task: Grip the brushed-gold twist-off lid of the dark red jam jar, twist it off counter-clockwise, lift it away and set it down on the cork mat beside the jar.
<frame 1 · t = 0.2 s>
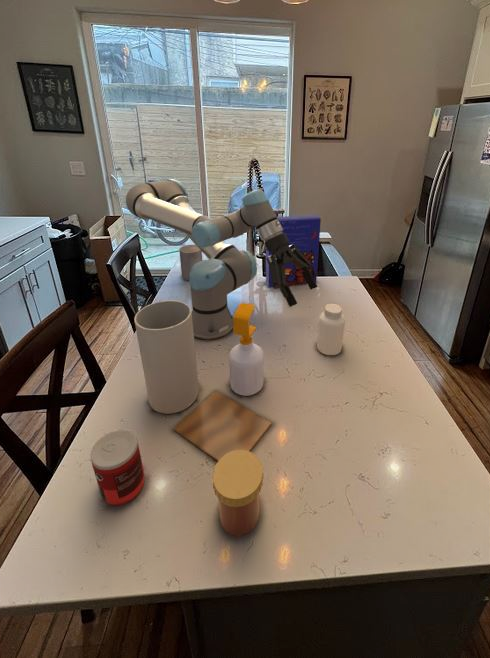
hand: (304, 296, 104), 16 cm above the kitchen island, tool tilted 35°, fingers open, 13 cm apart
cylinder vase: (174, 396, 86), on the kitchen island
canned food: (124, 486, 65), on the kitchen island
pill bottle: (329, 348, 105), on the kitchen island
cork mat: (223, 427, 77), on the kitchen island
cereal box: (291, 282, 147), on the kitchen island
jar lid: (238, 474, 56), point 11 cm above the kitchen island, screwed on, not yet turned
pillar candle: (192, 276, 151), on the kitchen island
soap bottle: (247, 384, 90), on the kitchen island
jam jar: (239, 513, 61), on the kitchen island
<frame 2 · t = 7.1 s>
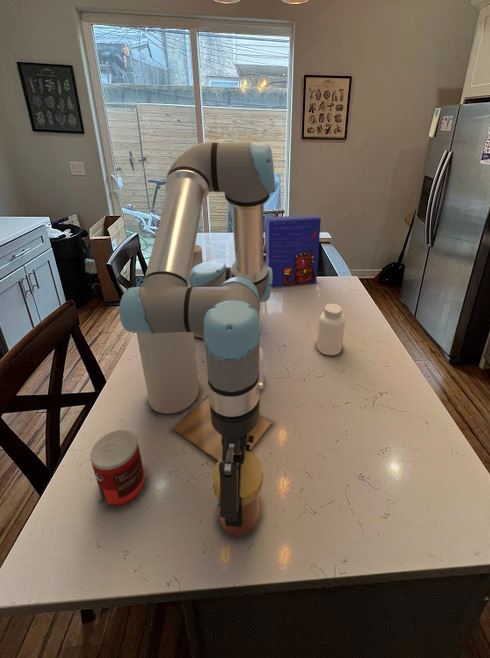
hand: (238, 494, 59), 5 cm above the kitchen island, tool pointing down, fingers closed on jar lid, 8 cm apart
jar lid: (238, 474, 56), point 11 cm above the kitchen island, screwed on, not yet turned, touching gripper
everything else where it was.
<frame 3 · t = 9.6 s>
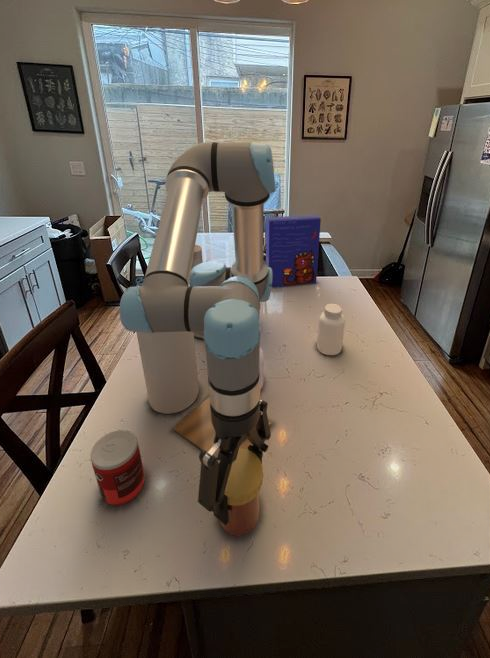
hand: (239, 494, 58), 6 cm above the kitchen island, tool pointing down, fingers closed on jar lid, 8 cm apart
jar lid: (237, 472, 56), point 11 cm above the kitchen island, off its thread, touching gripper
everything else where it was.
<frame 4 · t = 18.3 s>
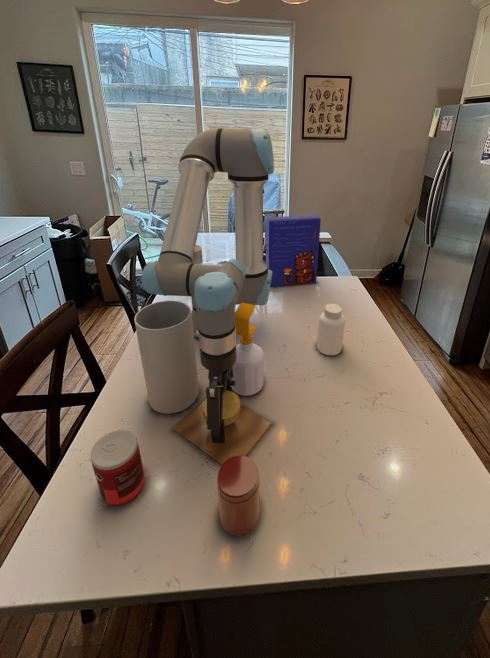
hand: (223, 423, 77), 1 cm above the kitchen island, tool pointing down, fingers closed on jar lid, 8 cm apart
jar lid: (221, 405, 75), point 7 cm above the kitchen island, off its thread, touching gripper
everything else where it was.
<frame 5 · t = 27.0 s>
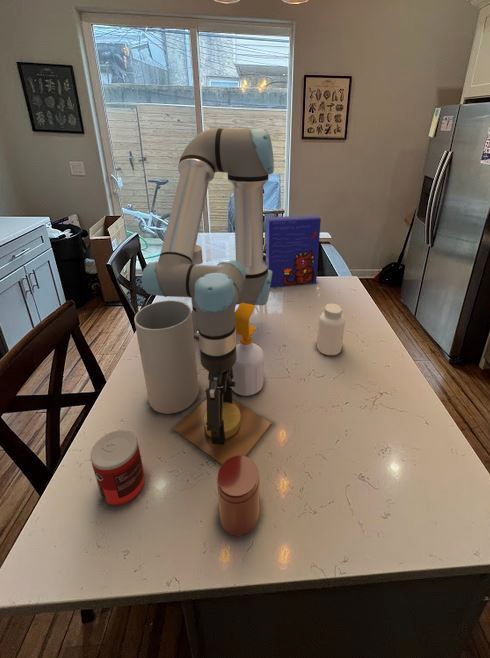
hand: (223, 424, 77), 1 cm above the kitchen island, tool pointing down, fingers closed on jar lid, 8 cm apart
jar lid: (222, 417, 76), point 3 cm above the kitchen island, off its thread, touching gripper
everything else where it was.
when the fingers open (2 cm above the kitchen island, at t = 27.4 s): jar lid drops 2 cm, resting on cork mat.
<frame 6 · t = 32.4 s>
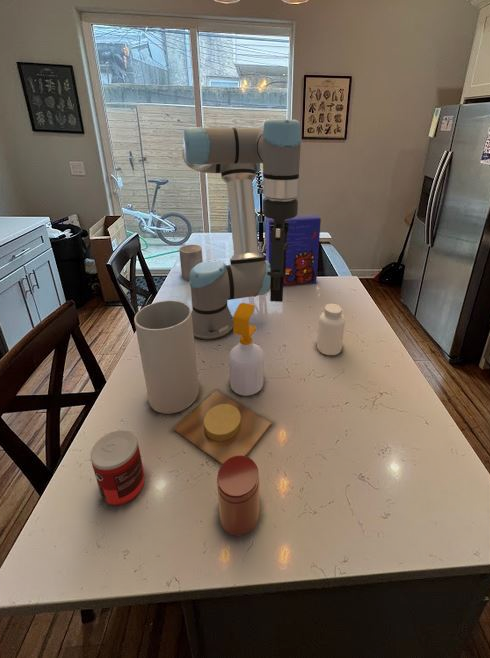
hand: (278, 286, 78), 31 cm above the kitchen island, tool pointing down, fingers open, 13 cm apart
jar lid: (222, 419, 77), point 2 cm above the kitchen island, off its thread, touching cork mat
everything else where it was.
at the end: jar lid came off its thread; jar lid inside the target area on the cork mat (0.1 cm from its centre), point 2.3 cm above the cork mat's base; the gripper is holding nothing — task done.
